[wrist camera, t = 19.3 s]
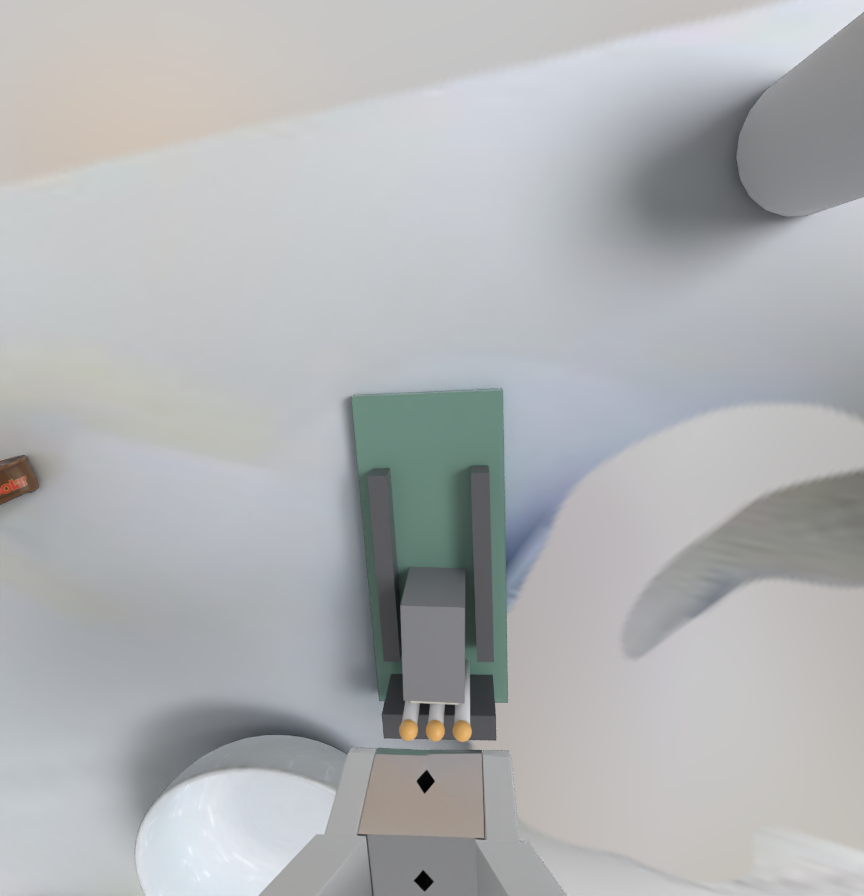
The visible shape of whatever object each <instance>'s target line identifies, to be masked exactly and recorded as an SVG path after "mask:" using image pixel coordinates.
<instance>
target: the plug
mask: <svg viewBox="0 0 864 896" xmlns="http://www.w3.org/2000/svg"><path fill="white" fill-rule="evenodd" d="M400 610H401V640H402V670H403V700H404V701H410V703H430V704H453V705H459V703H465V568H436V567H410V568H409V572H408V577H407V581H406V585H405V589H404V593H403V597H402V601H401V605H400Z"/></svg>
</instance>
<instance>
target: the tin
mask: <svg viewBox="0 0 864 896" xmlns="http://www.w3.org/2000/svg"><path fill="white" fill-rule="evenodd" d="M26 459H27V456H25V455H22V456H17V457H14V458H10V459H6V460H2V461H0V505H1V504H3V503H5V502H8V501H10V500H12V499H14V498H16V497H19V496H21V495H23V494H25V493H31V492H34V491H35V490H37V489H38V487H39V484H38V481H37V479H36V477H35V475H34V473H33V471H32V469H31V467H30V466H29V464H28V462H27V460H26Z"/></svg>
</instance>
